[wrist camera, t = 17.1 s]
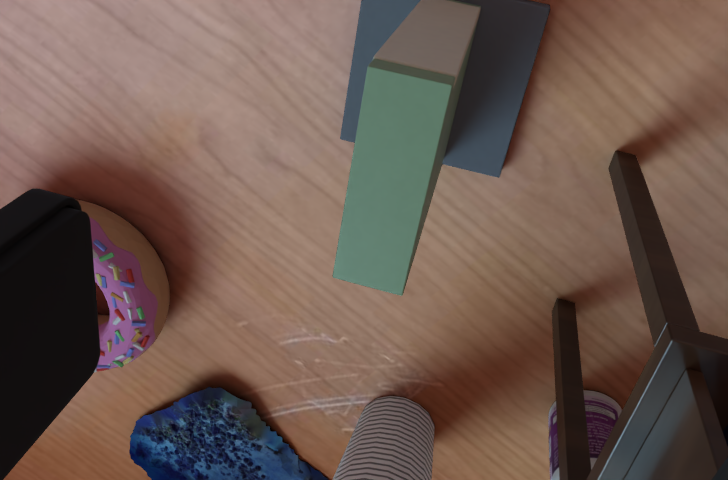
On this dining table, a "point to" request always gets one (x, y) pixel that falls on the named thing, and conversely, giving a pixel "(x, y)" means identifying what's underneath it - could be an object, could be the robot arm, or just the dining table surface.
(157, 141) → the dining table surface
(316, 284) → the dining table surface
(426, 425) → the cup
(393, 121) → the green book
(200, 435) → the rock
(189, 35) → the dining table surface
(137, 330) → the donut
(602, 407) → the pill bottle
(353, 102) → the mat
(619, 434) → the rack
